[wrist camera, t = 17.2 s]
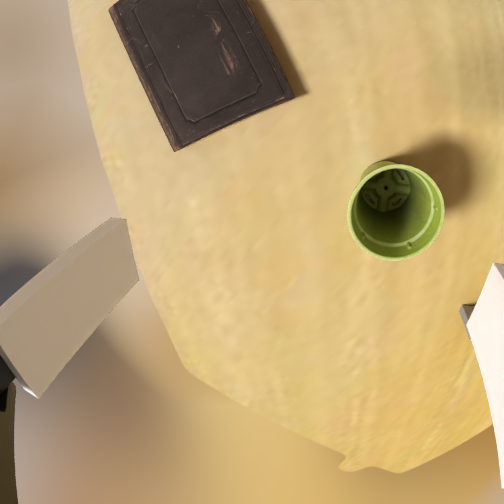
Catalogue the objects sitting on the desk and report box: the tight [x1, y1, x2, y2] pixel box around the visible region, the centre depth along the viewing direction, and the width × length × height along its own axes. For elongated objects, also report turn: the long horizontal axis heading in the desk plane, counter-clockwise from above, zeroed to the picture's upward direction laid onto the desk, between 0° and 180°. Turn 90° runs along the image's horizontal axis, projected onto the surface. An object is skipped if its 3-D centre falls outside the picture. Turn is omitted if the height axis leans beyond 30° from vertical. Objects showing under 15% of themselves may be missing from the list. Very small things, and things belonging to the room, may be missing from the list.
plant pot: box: [347, 161, 445, 261], centre depth 29 cm, size 9×9×9 cm
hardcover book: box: [109, 0, 295, 152], centre depth 29 cm, size 16×23×2 cm
